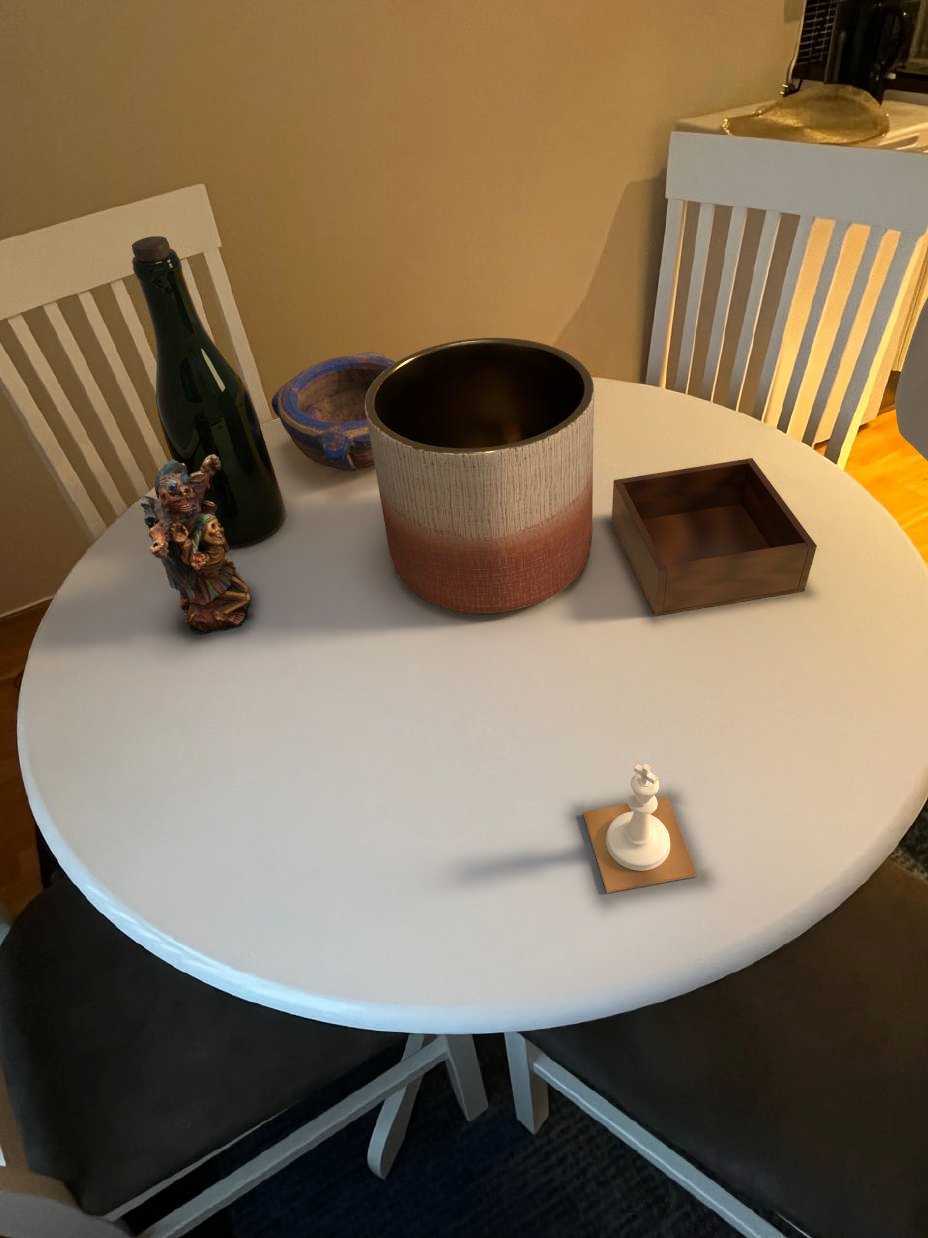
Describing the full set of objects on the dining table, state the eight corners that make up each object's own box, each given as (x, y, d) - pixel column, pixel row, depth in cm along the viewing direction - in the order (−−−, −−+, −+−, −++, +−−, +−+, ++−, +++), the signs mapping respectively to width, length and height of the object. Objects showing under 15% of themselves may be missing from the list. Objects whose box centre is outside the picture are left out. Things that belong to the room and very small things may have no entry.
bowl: (324, 512, 100) (306, 440, 93) (273, 445, 112) (254, 378, 105) (454, 462, 106) (446, 391, 99) (392, 403, 117) (382, 336, 110)
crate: (744, 501, 95) (752, 457, 91) (804, 590, 84) (817, 545, 80) (611, 522, 94) (613, 479, 90) (654, 616, 83) (659, 571, 79)
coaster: (666, 799, 68) (667, 796, 68) (696, 876, 63) (697, 874, 63) (583, 814, 68) (583, 811, 67) (606, 893, 63) (606, 891, 62)
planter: (629, 579, 87) (642, 410, 73) (434, 650, 82) (408, 482, 68) (536, 474, 102) (532, 316, 88) (366, 528, 97) (333, 370, 83)
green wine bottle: (234, 489, 105) (142, 216, 82) (303, 505, 102) (227, 223, 79) (182, 539, 99) (66, 257, 76) (254, 558, 95) (155, 267, 72)
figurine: (284, 628, 86) (237, 485, 74) (198, 661, 84) (135, 519, 71) (255, 570, 93) (208, 431, 81) (175, 599, 91) (114, 460, 78)
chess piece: (631, 804, 68) (639, 727, 61) (682, 840, 65) (697, 765, 58) (593, 843, 65) (596, 769, 58) (644, 883, 63) (654, 810, 56)
